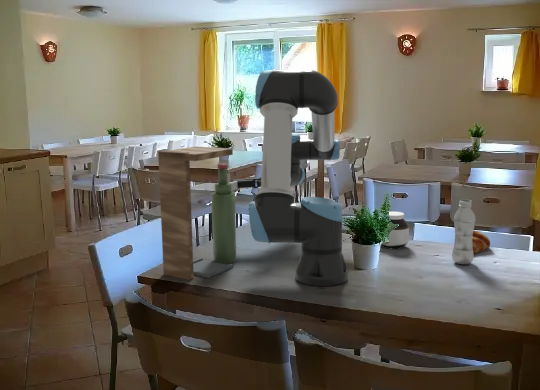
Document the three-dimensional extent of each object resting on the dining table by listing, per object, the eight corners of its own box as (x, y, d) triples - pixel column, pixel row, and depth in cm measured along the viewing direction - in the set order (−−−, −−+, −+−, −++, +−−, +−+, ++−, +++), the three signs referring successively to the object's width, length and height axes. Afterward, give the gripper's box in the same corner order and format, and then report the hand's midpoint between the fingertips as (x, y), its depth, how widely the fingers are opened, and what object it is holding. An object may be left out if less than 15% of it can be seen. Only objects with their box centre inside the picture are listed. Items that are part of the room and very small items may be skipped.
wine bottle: (240, 261, 189) (238, 164, 183) (218, 265, 186) (216, 166, 180) (231, 256, 196) (228, 162, 190) (210, 259, 192) (207, 163, 187)
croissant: (473, 250, 212) (464, 229, 213) (500, 240, 207) (490, 219, 208) (455, 263, 195) (445, 241, 196) (484, 253, 189) (473, 230, 190)
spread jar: (411, 247, 204) (413, 214, 202) (390, 253, 197) (391, 219, 195) (384, 240, 213) (385, 208, 211) (363, 246, 206) (364, 213, 204)
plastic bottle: (474, 261, 187) (477, 199, 183) (471, 267, 181) (475, 203, 177) (453, 259, 189) (456, 198, 186) (450, 265, 183) (453, 201, 180)
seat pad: (200, 260, 191) (200, 257, 190) (232, 267, 184) (232, 264, 183) (175, 270, 181) (174, 267, 180) (208, 277, 174) (208, 274, 173)
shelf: (200, 260, 191) (196, 145, 184) (235, 267, 184) (232, 148, 177) (163, 274, 177) (158, 151, 170) (199, 282, 170) (195, 153, 163)
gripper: (306, 193, 207) (273, 205, 189) (247, 187, 220) (212, 197, 203) (306, 172, 205) (273, 182, 188) (247, 167, 219) (211, 175, 201)
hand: (241, 190), depth 195 cm, fingers open, 13 cm apart
